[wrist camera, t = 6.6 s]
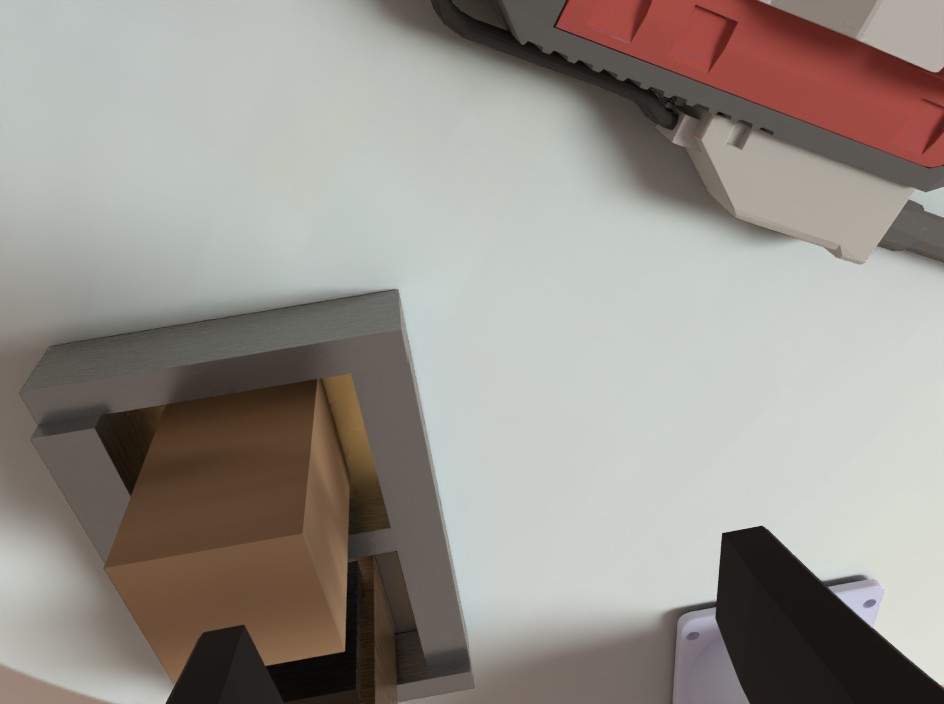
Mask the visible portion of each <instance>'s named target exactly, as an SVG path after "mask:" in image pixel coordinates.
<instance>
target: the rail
mask: <svg viewBox="0 0 944 704" xmlns="http://www.w3.org/2000/svg"><path fill="white" fill-rule="evenodd" d="M320 378H322V381H323V384H324V388H325V391H326V394H327V398H328V401H329V405H330V408H331V412H332V415H333V419H334V422H335V426H336V429H337V433H338V436H339V439H340V443H341V446H342V450H343V453H344V457H345V460H346V464H347V467H348V471H349V474H350V486H349V523H348V560H347V597H346V634H345V652H339V653H334V654H328V655H323V656H317V657H312V658H306V659H301V660H295V661H290V662H284V663H279V664H273V665H268V666H266V668H267V670H268V672H269V674H270V676H271V678H272V680H273V682H274V684H275V686H276V688H277V690H278V692H279V694H280V696H281V698H282V700H283V704H398V702H402V701H407V700H412V699H418V698H423V697H429V696H434V695H439V694H445V693H450V692H456V691H461V690H467V689H472V688H474V680H473V673H472V666H471V658H470V651H469V643H468V637H467V632H466V627H465V622H464V617H463V612H462V607H461V601H460V596H459V591H458V586H457V581H456V576H455V571H454V566H453V561H452V556H451V551H450V546H449V541H448V536H447V531H446V526H445V521H444V516H443V511H442V506H441V501H440V496H439V491H438V486H437V481H436V476H435V471H434V466H433V461H432V456H431V451H430V446H429V441H428V436H427V431H426V426H425V421H424V416H423V411H422V406H421V401H420V396H419V391H418V386H417V381H416V376H415V371H414V366H413V361H412V356H411V351H410V346H409V341H408V336H407V331H406V326H405V321H404V316H403V311H402V306H401V301H400V296H399V291H398V290H393V291H387V292H381V293H374V294H368V295H362V296H356V297H350V298H344V299H338V300H332V301H326V302H319V303H313V304H307V305H301V306H295V307H289V308H283V309H277V310H270V311H264V312H258V313H252V314H246V315H240V316H234V317H228V318H222V319H215V320H209V321H203V322H197V323H191V324H185V325H179V326H173V327H167V328H160V329H154V330H148V331H142V332H136V333H130V334H124V335H118V336H112V337H105V338H99V339H93V340H87V341H81V342H75V343H69V344H63V345H56V346H50V347H49V349H48V350H47V352H46V353H45V355H44V356H43V358H42V359H41V361H40V362H39V364H38V365H37V366H36V368H35V369H34V371H33V372H32V374H31V375H30V377H29V378H28V380H27V381H26V383H25V384H24V386H23V387H22V389H21V390H20V392H19V394H20V396H21V397H22V399H23V401H24V402H25V404H26V406H27V407H28V409H29V411H30V413H31V414H32V416H33V418H34V419H35V421H36V423H37V425H38V427H37V428H36V430H35V432H34V433H33V435H32V437H31V438H30V440H31V441H32V443H33V445H34V446H35V448H36V450H37V451H38V453H39V455H40V456H41V458H42V460H43V461H44V463H45V465H46V466H47V468H48V470H49V471H50V473H51V475H52V476H53V478H54V480H55V481H56V483H57V485H58V486H59V488H60V490H61V491H62V493H63V495H64V496H65V498H66V500H67V501H68V503H69V505H70V506H71V508H72V510H73V511H74V513H75V515H76V516H77V518H78V520H79V521H80V523H81V525H82V526H83V528H84V530H85V531H86V533H87V535H88V536H89V538H90V540H91V541H92V543H93V545H94V546H95V548H96V550H97V551H98V553H99V555H100V556H101V558H102V560H103V561H104V563H105V564H106V561H107V558H108V556H109V553H110V550H111V548H112V545H113V543H114V540H115V537H116V535H117V532H118V529H119V527H120V524H121V521H122V519H123V516H124V514H125V511H126V508H127V506H128V503H129V500H130V498H131V495H132V492H133V490H134V487H135V485H136V482H137V479H138V477H139V474H140V471H141V469H142V466H143V463H144V461H145V458H146V455H147V453H148V450H149V448H150V445H151V442H152V440H153V437H154V434H155V432H156V429H157V426H158V424H159V421H160V419H161V416H162V413H163V411H164V408H165V405H166V404H171V403H177V402H183V401H189V400H195V399H201V398H206V397H212V396H218V395H224V394H230V393H236V392H242V391H248V390H254V389H260V388H266V387H272V386H278V385H284V384H290V383H296V382H302V381H308V380H314V379H320ZM393 551H397V553H398V556H399V560H400V564H401V568H402V572H403V576H404V580H405V583H406V587H407V591H408V595H409V599H410V603H411V606H412V610H413V614H414V618H415V622H416V626H417V630H418V631H412V632H407V633H401V634H396V635H395V625H394V621H393V618H392V614H391V611H390V608H389V604H388V601H387V597H386V594H385V590H384V587H383V583H382V580H381V576H380V573H379V569H378V566H377V562H376V559H375V555H376V554H382V553H387V552H393Z"/></svg>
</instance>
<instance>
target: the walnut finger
mask: <svg viewBox="0 0 944 704" xmlns="http://www.w3.org/2000/svg"><path fill="white" fill-rule="evenodd" d="M349 486H350V474H349V471H348V467H347V464H346V460H345V457H344V453H343V450H342V446H341V443H340V439H339V436H338V433H337V429H336V426H335V422H334V419H333V415H332V412H331V408H330V405H329V401H328V398H327V394H326V391H325V388H324V384H323V381H322V378H320V379H314V380H308V381H302V382H296V383H290V384H284V385H278V386H272V387H266V388H260V389H254V390H248V391H242V392H236V393H230V394H224V395H218V396H212V397H206V398H201V399H195V400H189V401H183V402H177V403H171V404H166V405H165V408H164V411H163V413H162V416H161V419H160V421H159V424H158V426H157V429H156V432H155V434H154V437H153V440H152V442H151V445H150V448H149V450H148V453H147V455H146V458H145V461H144V463H143V466H142V469H141V471H140V474H139V477H138V479H137V482H136V485H135V487H134V490H133V492H132V495H131V498H130V500H129V503H128V506H127V508H126V511H125V514H124V516H123V519H122V521H121V524H120V527H119V529H118V532H117V535H116V537H115V540H114V543H113V545H112V548H111V550H110V553H109V556H108V558H107V561H106V564H105V566H104V570H105V571H106V573H107V575H108V576H109V578H110V580H111V581H112V583H113V585H114V586H115V588H116V590H117V591H118V593H119V594H120V596H121V598H122V599H123V601H124V603H125V604H126V606H127V608H128V609H129V611H130V613H131V614H132V616H133V618H134V619H135V621H136V623H137V624H138V626H139V628H140V629H141V631H142V632H143V634H144V636H145V637H146V639H147V641H148V642H149V644H150V646H151V647H152V649H153V651H154V652H155V654H156V656H157V657H158V659H159V661H160V662H161V664H162V666H163V667H164V669H165V670H166V672H167V674H168V675H169V677H170V679H171V680H172V682H173V683H174V682H177V680H178V678H179V676H180V674H181V672H182V670H183V668H184V666H185V664H186V662H187V660H188V658H189V656H190V654H191V652H192V650H193V648H194V646H195V644H196V642H197V640H198V638H199V637H200V636H201V635H202V633H203V632H207V631H212V630H218V629H223V628H228V627H233V626H239V625H245V627H246V629H247V631H248V633H249V635H250V636H251V638H252V640H253V642H254V644H255V646H256V648H257V650H258V652H259V654H260V656H261V658H262V660H263V662H264V664H265V666H268V665H273V664H279V663H284V662H290V661H295V660H301V659H306V658H312V657H317V656H323V655H328V654H334V653H339V652H345V634H346V597H347V560H348V523H349Z"/></svg>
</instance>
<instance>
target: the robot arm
mask: <svg viewBox="0 0 944 704" xmlns="http://www.w3.org/2000/svg"><path fill="white" fill-rule="evenodd" d="M883 593H884V589H883V587H882V586H881V585H880V583H879V582H878V581H877V580H874V579H868V580H862V581H857V582H851V583H846V584H840V585H835V586H829V587H827V586H826V585H825V584H824V583H823V582H822V581H821V580H820V579H818V578H817V577H816V576H815V575H814V574H813V573H812V572H811V571H810V570H809V569H808V568H807V567H806V566H805V565H804V564H803V563H802V562H801V561H800V560H799V559H798V558H797V557H795V556H794V555H793V554H792V553H791V552H790V551H789V550H788V549H787V548H786V547H785V546H784V545H783V544H782V543H781V542H780V541H779V540H778V539H777V538H776V537H775V536H774V535H773V534H772V533H771V532H770V531H769V530H768V529H766V528H765V527H763V526H758V527H753V528H748V529H742V530H737V531H732V532H727V533H722V542H721V554H720V566H719V579H718V591H717V603H716V607H714V608H709V609H703V610H698V611H692V612H688V613H686V614H684V615H682V616H681V617H680V618H679V620H678V624H677V640H676V656H675V671H674V687H673V703H672V704H944V688H943V687H942V686H941V685H939V684H938V683H937V682H936V681H934V680H933V679H932V678H931V677H929V676H928V675H927V674H926V673H925V672H924V671H922V670H921V669H920V668H919V667H918V666H916V665H915V664H914V663H913V662H912V661H910V660H909V659H908V658H907V657H906V656H904V655H903V654H902V653H901V652H900V651H899V650H897V649H896V648H895V647H894V646H893V645H892V644H891V643H889V642H888V641H887V640H886V639H885V638H884V637H883V636H881V635H880V634H879V633H878V632H877V631H876V630H875V629H873V625H874V622H875V619H876V616H877V612H878V609H879V606H880V603H881V599H882V596H883ZM166 704H283V700H282V698H281V696H280V694H279V692H278V690H277V688H276V686H275V684H274V682H273V680H272V678H271V676H270V674H269V672H268V670H267V668H266V666H265V664H264V662H263V660H262V658H261V656H260V654H259V652H258V650H257V648H256V646H255V644H254V642H253V640H252V638H251V636H250V635H249V633H248V631H247V629H246V627H245V625H239V626H233V627H228V628H223V629H218V630H212V631H207V632H203V633H202V635H201V636H200V637H199V638H198V640H197V642H196V644H195V646H194V648H193V650H192V652H191V654H190V656H189V658H188V660H187V662H186V664H185V666H184V668H183V670H182V672H181V674H180V676H179V678H178V680H177V682H176V684H175V686H174V688H173V690H172V692H171V694H170V696H169V698H168V700H167V702H166Z"/></svg>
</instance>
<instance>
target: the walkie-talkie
mask: <svg viewBox="0 0 944 704" xmlns="http://www.w3.org/2000/svg"><path fill="white" fill-rule="evenodd" d="M491 1H492V3H493V5H494V7H495V9H496V12H497V14H498V16H499V18H500V20H501V23H502V24H503V25H504V26H505V27H506V29H507V30H508V31H506V30H504V29H501V28H498V27H495V26H493V25H490V24H487V23H484V22H482V21H479V20H476V19H474V18H472V17H470V16H468V15H467V14H465V13H463V12H461V11H460V10H459V9H458V8H457V7H456V6H455V5H454V4H453V2H452V0H431V2H432V5H433V8H434V10H435V12H436V13H437V15H438V16H439V17H440V19H441V20H442V21H443V23H444V24H445V25H447V26H448V27H449V28H451V29H452V30H453V31H455V32H456V33H457V34H459V35H460V36H461V37H463V38H465V39H468V40H471V41H474V42H476V43H479V44H482V45H485V46H488V47H490V48H493V49H496V50H499V51H502V52H504V53H507V54H510V55H513V56H516V57H518V58H521V59H524V60H527V61H529V62H532V63H535V64H538V65H541V66H543V67H546V68H549V69H552V70H555V71H557V72H560V73H563V74H566V75H569V76H571V77H574V78H577V79H580V80H583V81H585V82H588V83H591V84H594V85H596V86H599V87H601V88H604V89H606V90H609V91H611V92H614V93H616V94H619V95H621V96H624V97H626V98H629V99H631V100H634V101H635V102H636V103H637V104H638V105H639V107H640V108H641V109H642V111H643V112H644V113H645V115H646V116H648V117H649V118H650V119H651V120H652V121H654V122H655V123H657V125H656V129H657V130H658V131H659V132H660V133H661V134H662V135H664V136H665V137H666V138H667V139H668V140H669V141H671V142H672V143H674V144H677V145H680V146H683V147H685V148H686V150H687V152H688V154H689V156H690V158H691V160H692V162H693V164H694V166H695V168H696V170H697V172H698V174H699V176H700V178H701V180H702V182H703V184H704V186H705V188H706V190H707V191H708V193H709V194H710V195H711V196H712V197H713V198H714V199H715V200H716V201H718V202H719V203H720V204H721V205H722V206H723V207H724V208H725V209H726V210H727V211H728V212H729V213H731V214H732V215H733V216H734V217H735V218H737V219H740V220H743V221H746V222H749V223H752V224H755V225H758V226H761V227H764V228H767V229H770V230H773V231H776V232H779V233H783V234H786V235H789V236H792V237H795V238H798V239H801V240H804V241H807V242H810V243H813V244H816V245H819V246H822V247H824V248H825V249H827V250H828V251H829V252H830V253H832V254H833V255H834V256H835V257H836V258H840V259H843V260H846V261H850V262H853V263H856V264H860V265H861V264H863V263H865V262H866V261H867V259H868V258H869V256H870V255H871V253H872V252H873V251H874V249H875V248H876V246H880V247H883V248H886V249H889V250H892V251H899V250H903V249H906V250H909V251H912V252H915V253H918V254H921V255H924V256H927V257H930V258H933V259H936V260H939V261H942V262H944V218H943V217H940V216H937V215H934V214H932V213H929V212H926V211H924V208H923V206H922V205H920V204H918V203H916V202H914V201H911V200H909V198H910V196H911V195H912V193H913V192H914V191H915V189H919V190H921V191H924V192H928V191H931V190H934V189H938V188H941V187H944V0H491ZM650 87H652V88H653V89H655V90H656V91H657V92H659V93H660V94H661V95H663V96H665V97H667V98H671V97H672V96H675V97H676V98H677V100H676V102H675V104H673V103H670V102H667V104H666V106H665V107H664V106H663V105H662V103H661V102H660V101H659V99H658V98H657V97H656V95H655V94H654V93H653V91H651V90H650V89H649V88H650Z"/></svg>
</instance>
